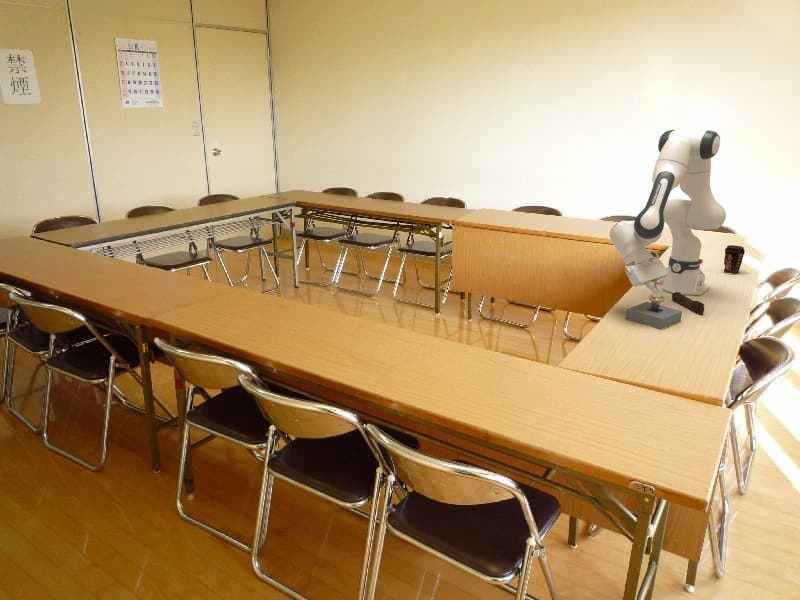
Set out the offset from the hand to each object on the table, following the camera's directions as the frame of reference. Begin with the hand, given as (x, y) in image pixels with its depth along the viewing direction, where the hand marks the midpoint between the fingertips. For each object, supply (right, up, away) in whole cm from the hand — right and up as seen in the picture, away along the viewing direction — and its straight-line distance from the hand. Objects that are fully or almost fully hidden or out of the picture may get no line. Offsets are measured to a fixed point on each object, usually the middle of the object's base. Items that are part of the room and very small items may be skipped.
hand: (659, 291), depth 216 cm
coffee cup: (+65, +10, +68) cm, 95 cm away
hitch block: (0, -11, +4) cm, 11 cm away
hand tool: (+20, -7, +18) cm, 28 cm away
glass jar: (-1, -6, +3) cm, 7 cm away
